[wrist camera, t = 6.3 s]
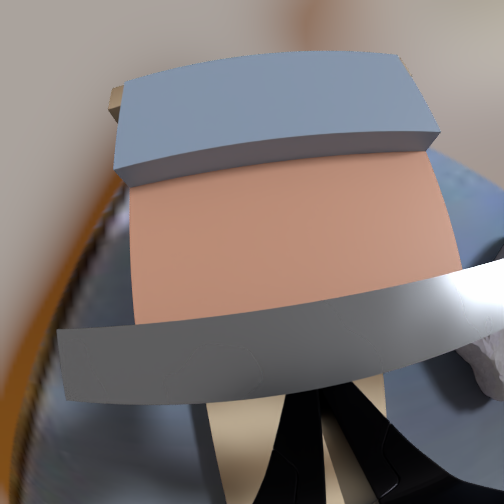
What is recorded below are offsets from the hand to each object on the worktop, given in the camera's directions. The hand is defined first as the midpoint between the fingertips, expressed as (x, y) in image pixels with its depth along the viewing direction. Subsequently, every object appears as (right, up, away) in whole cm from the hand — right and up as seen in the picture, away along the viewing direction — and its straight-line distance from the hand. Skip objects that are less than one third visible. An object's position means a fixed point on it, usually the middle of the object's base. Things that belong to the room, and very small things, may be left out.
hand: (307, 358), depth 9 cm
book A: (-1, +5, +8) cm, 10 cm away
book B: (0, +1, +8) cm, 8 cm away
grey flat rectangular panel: (0, -1, +7) cm, 7 cm away
